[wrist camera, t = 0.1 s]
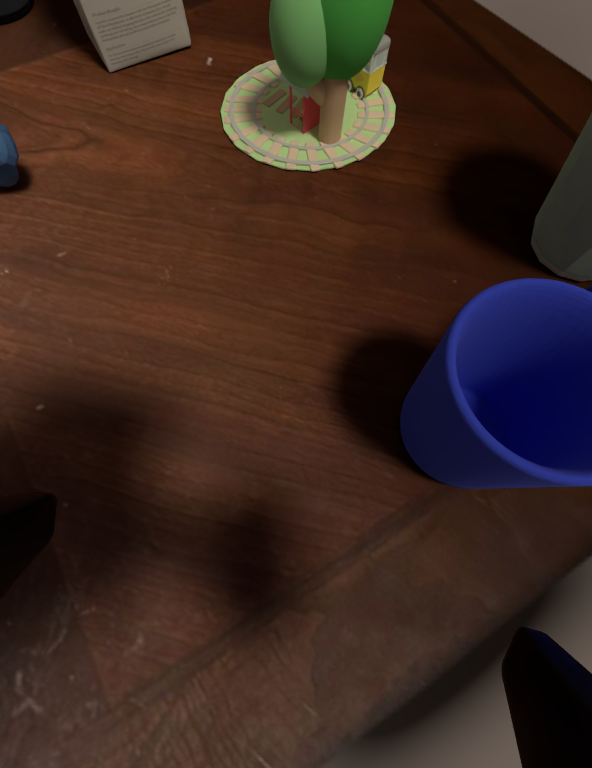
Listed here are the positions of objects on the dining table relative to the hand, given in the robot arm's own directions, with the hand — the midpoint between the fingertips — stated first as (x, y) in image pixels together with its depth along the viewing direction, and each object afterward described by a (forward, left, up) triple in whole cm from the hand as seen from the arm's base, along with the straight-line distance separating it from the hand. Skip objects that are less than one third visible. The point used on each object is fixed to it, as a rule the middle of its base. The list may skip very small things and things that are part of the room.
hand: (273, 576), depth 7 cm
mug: (+5, -13, -15) cm, 20 cm away
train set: (+33, -10, -15) cm, 37 cm away
